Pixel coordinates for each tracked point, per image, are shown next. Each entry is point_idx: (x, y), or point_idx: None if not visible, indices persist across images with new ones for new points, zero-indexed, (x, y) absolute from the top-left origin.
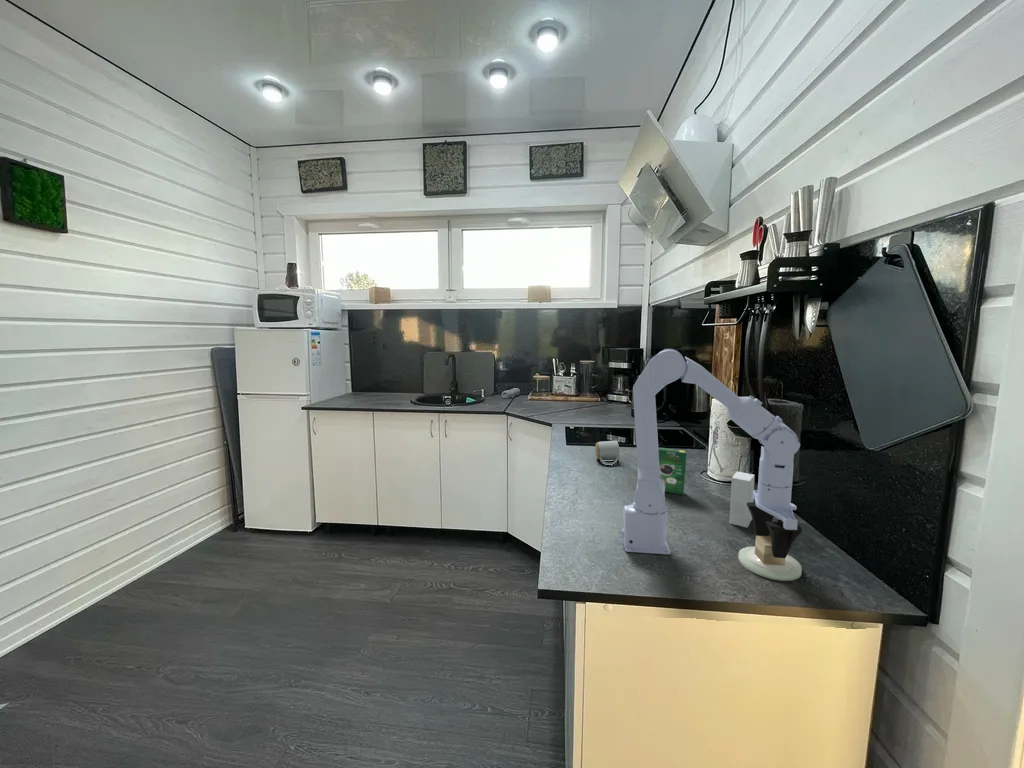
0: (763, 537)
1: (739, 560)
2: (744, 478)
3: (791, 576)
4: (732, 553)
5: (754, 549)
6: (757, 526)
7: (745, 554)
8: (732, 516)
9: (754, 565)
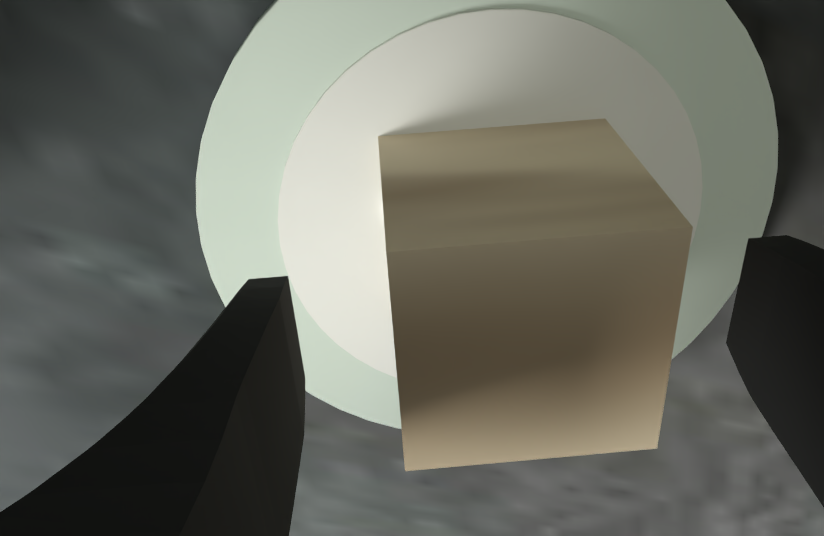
0: (442, 409)
1: None
2: None
3: (772, 114)
4: (329, 421)
5: (303, 302)
6: (286, 506)
7: None
8: None
9: None
